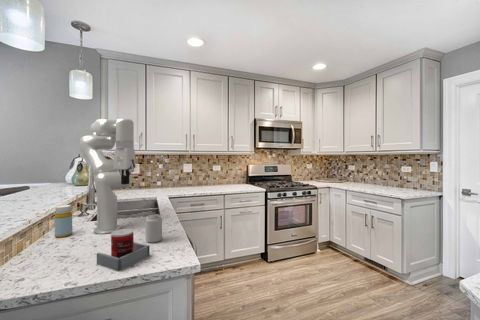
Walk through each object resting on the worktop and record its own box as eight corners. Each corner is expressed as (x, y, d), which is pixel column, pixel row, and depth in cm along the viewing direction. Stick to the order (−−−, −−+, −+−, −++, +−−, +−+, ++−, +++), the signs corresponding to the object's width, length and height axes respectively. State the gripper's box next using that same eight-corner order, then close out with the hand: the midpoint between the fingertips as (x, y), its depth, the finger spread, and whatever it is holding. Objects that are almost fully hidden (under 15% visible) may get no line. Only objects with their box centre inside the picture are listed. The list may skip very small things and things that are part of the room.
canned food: (121, 254, 95) (121, 227, 94) (138, 256, 93) (137, 229, 92) (106, 262, 87) (105, 234, 87) (124, 265, 85) (123, 236, 85)
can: (156, 244, 106) (156, 218, 106) (142, 242, 107) (142, 217, 107) (165, 238, 113) (165, 214, 113) (151, 237, 115) (151, 213, 114)
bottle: (75, 234, 119) (75, 205, 118) (61, 238, 112) (60, 208, 112) (66, 232, 121) (65, 204, 121) (51, 237, 114) (51, 207, 114)
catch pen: (96, 263, 86) (96, 253, 86) (129, 250, 99) (129, 240, 99) (118, 270, 81) (118, 259, 81) (149, 255, 94) (149, 245, 94)
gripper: (107, 145, 109) (107, 184, 109) (129, 144, 102) (129, 185, 103) (121, 146, 116) (121, 182, 116) (142, 145, 109) (143, 184, 110)
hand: (125, 184), depth 109 cm, fingers closed
